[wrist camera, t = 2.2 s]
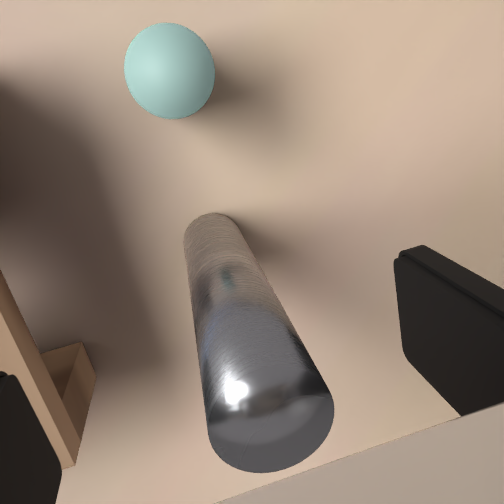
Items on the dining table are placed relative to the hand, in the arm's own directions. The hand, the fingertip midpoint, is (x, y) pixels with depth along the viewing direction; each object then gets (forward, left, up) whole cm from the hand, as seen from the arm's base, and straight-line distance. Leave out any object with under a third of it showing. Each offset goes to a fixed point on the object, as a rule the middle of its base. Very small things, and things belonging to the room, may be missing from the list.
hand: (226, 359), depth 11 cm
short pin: (-1, -7, -10) cm, 12 cm away
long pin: (-1, 0, -10) cm, 10 cm away
